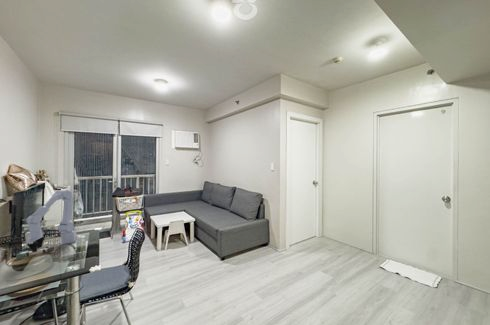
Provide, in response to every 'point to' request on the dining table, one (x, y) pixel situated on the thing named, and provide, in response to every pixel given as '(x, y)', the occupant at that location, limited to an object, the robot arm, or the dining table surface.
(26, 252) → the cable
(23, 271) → the dining table surface
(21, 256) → the board
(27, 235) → the supplement box
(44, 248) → the mat
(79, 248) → the dining table surface
